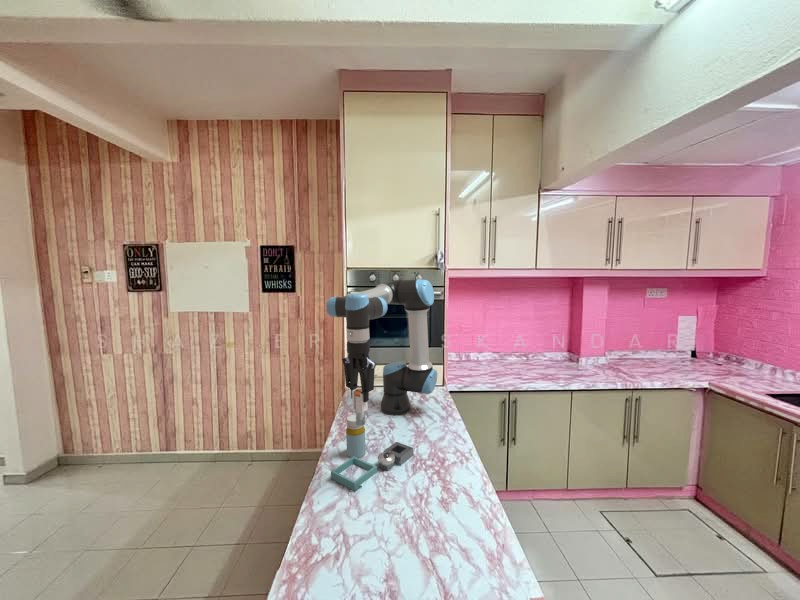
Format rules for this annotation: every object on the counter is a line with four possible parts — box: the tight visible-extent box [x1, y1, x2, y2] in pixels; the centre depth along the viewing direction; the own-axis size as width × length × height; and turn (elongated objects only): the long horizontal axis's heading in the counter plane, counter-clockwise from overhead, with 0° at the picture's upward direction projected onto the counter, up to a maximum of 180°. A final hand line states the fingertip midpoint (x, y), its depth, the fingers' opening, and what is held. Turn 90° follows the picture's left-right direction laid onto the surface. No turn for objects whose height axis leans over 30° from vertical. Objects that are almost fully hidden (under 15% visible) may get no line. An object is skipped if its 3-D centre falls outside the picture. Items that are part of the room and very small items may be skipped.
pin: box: [355, 388, 366, 426], centre depth 115 cm, size 3×3×12 cm
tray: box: [330, 457, 378, 493], centre depth 116 cm, size 11×11×3 cm
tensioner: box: [377, 441, 414, 472], centre depth 123 cm, size 14×8×5 cm, turn 143°
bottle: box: [345, 413, 367, 459], centre depth 128 cm, size 7×7×15 cm
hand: (360, 409), depth 115 cm, fingers closed on pin, 3 cm apart
